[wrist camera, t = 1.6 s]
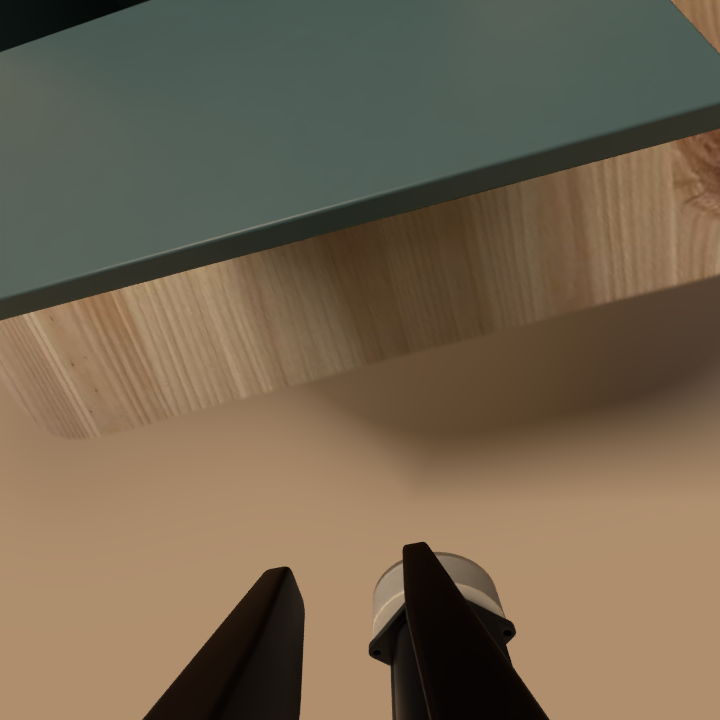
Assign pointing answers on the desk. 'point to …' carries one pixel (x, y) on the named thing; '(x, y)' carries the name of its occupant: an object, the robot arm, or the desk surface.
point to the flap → (311, 122)
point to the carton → (50, 17)
